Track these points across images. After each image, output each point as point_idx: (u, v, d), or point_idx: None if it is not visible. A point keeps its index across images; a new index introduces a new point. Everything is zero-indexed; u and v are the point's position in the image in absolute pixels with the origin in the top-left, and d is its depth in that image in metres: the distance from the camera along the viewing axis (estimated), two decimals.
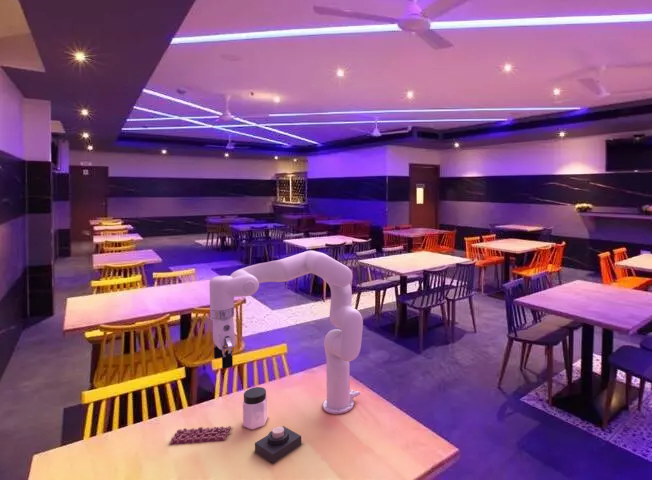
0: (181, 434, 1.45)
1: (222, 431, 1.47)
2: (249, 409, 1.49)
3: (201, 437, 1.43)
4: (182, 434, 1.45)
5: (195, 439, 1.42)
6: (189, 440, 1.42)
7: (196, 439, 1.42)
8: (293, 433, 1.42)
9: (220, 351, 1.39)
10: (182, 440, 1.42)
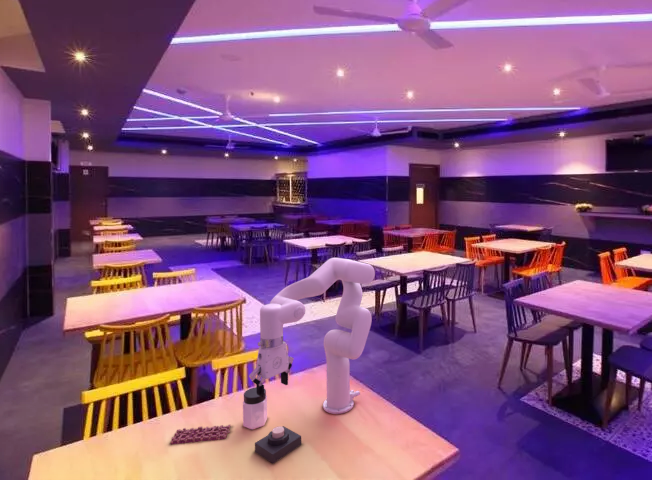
0: (181, 434, 1.45)
1: (222, 430, 1.48)
2: (249, 409, 1.49)
3: (202, 436, 1.43)
4: (182, 434, 1.45)
5: (196, 438, 1.43)
6: (189, 440, 1.42)
7: (197, 438, 1.43)
8: (293, 433, 1.42)
9: (283, 378, 1.41)
10: (182, 440, 1.42)
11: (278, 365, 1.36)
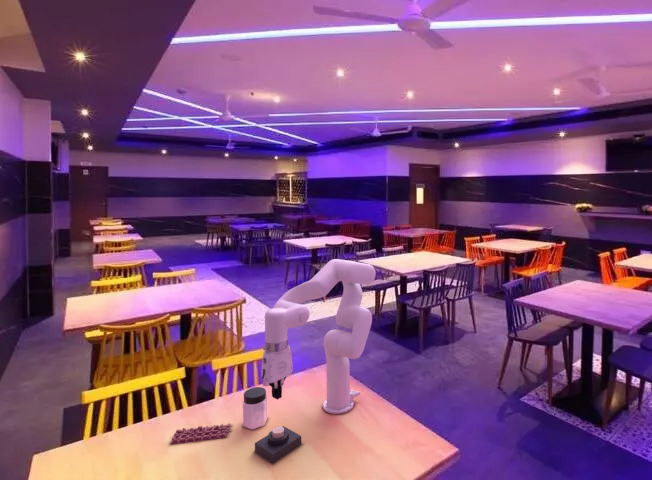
0: (180, 434, 1.45)
1: (222, 429, 1.49)
2: (249, 409, 1.49)
3: (202, 435, 1.44)
4: (182, 434, 1.45)
5: (196, 438, 1.43)
6: (190, 439, 1.43)
7: (197, 438, 1.43)
8: (293, 433, 1.42)
9: None
10: (183, 439, 1.42)
11: (282, 369, 1.36)
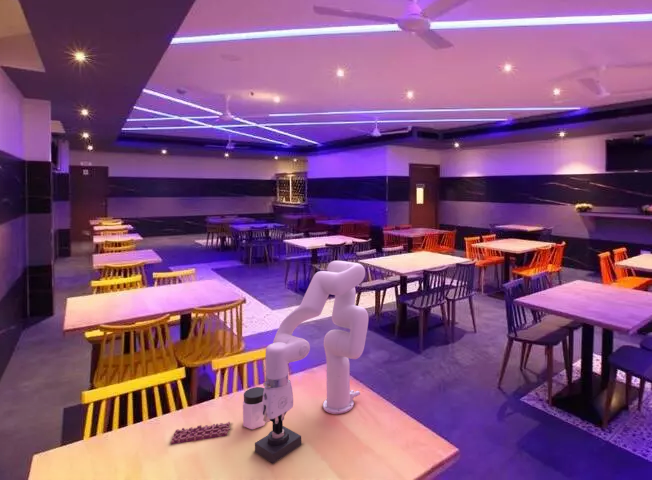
0: (180, 434, 1.45)
1: (222, 427, 1.50)
2: (249, 409, 1.49)
3: (203, 434, 1.44)
4: (181, 433, 1.45)
5: (197, 437, 1.44)
6: (190, 438, 1.43)
7: (198, 437, 1.44)
8: (293, 433, 1.42)
9: None
10: (183, 439, 1.43)
11: (283, 404, 1.36)
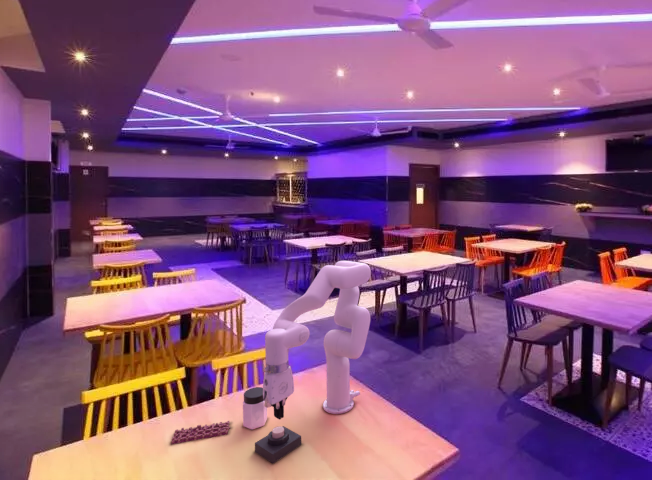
0: (180, 434, 1.45)
1: (222, 426, 1.50)
2: (249, 409, 1.49)
3: (203, 433, 1.45)
4: (181, 433, 1.45)
5: (197, 436, 1.44)
6: (191, 438, 1.43)
7: (198, 436, 1.44)
8: (293, 433, 1.42)
9: None
10: (183, 439, 1.43)
11: (284, 390, 1.37)
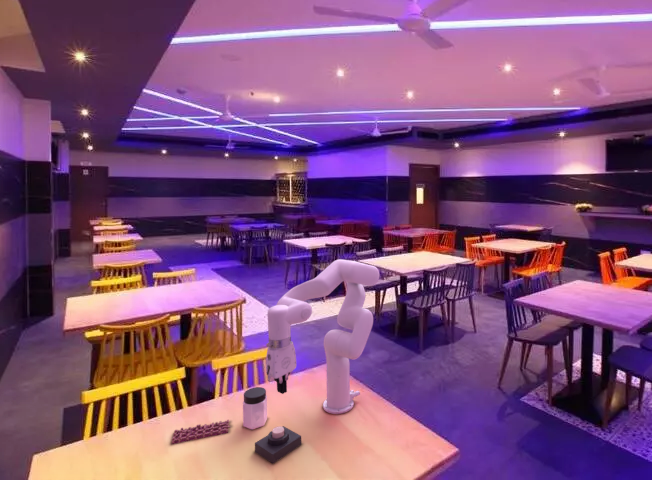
0: (180, 434, 1.45)
1: (222, 425, 1.51)
2: (249, 409, 1.49)
3: (203, 433, 1.45)
4: (181, 433, 1.45)
5: (197, 436, 1.44)
6: (191, 437, 1.44)
7: (198, 435, 1.45)
8: (293, 433, 1.42)
9: None
10: (183, 438, 1.43)
11: (287, 365, 1.39)
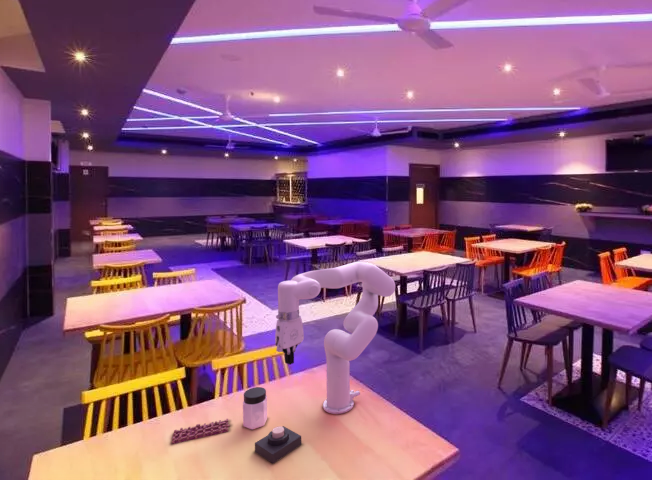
0: (179, 434, 1.45)
1: (222, 424, 1.51)
2: (249, 409, 1.49)
3: (204, 432, 1.46)
4: (181, 433, 1.45)
5: (197, 435, 1.45)
6: (191, 437, 1.44)
7: (198, 435, 1.45)
8: (293, 433, 1.42)
9: None
10: (184, 438, 1.43)
11: (294, 337, 1.47)
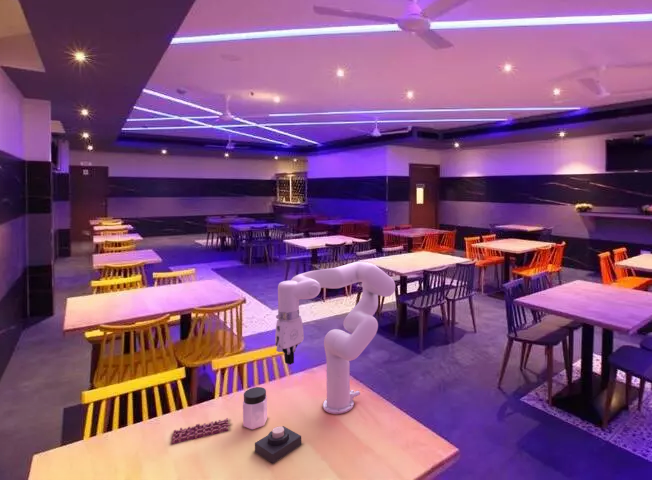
0: (179, 433, 1.45)
1: (222, 423, 1.52)
2: (249, 409, 1.49)
3: (204, 432, 1.46)
4: (181, 433, 1.46)
5: (198, 435, 1.45)
6: (191, 437, 1.44)
7: (199, 434, 1.45)
8: (293, 433, 1.42)
9: None
10: (184, 438, 1.43)
11: (294, 337, 1.47)
